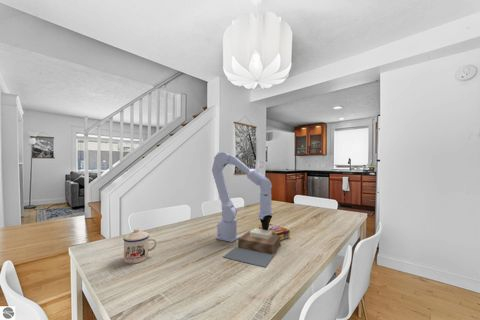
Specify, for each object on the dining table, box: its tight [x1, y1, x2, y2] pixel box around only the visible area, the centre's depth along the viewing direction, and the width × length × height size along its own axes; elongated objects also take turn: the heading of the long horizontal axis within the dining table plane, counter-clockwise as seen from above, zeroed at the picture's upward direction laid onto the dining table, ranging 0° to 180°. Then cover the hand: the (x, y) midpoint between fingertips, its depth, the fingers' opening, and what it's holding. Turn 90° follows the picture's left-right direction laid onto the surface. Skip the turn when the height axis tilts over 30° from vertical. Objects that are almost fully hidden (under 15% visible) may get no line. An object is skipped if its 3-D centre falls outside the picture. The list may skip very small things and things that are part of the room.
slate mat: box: [222, 246, 275, 268], centre depth 83 cm, size 18×11×1 cm, turn 64°
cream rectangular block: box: [250, 228, 272, 239], centre depth 96 cm, size 9×6×2 cm, turn 64°
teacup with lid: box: [123, 228, 158, 265], centre depth 81 cm, size 12×9×12 cm
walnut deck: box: [237, 230, 281, 255], centre depth 94 cm, size 16×12×4 cm
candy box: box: [257, 222, 291, 241], centre depth 109 cm, size 9×4×15 cm
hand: (265, 230), depth 101 cm, fingers closed
